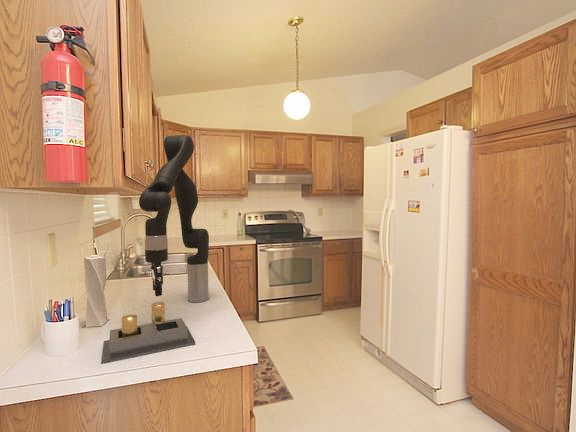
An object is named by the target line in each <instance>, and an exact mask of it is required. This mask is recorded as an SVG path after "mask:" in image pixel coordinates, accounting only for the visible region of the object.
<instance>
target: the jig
mask: <svg viewBox="0 0 576 432" xmlns="http://www.w3.org/2000/svg"><path fill="white" fill-rule="evenodd" d="M193 345H196V341H195V339H194V337H193V335H192V333H191V331H190V329H189V328H188V326H187V325H186V323H185V321H184V319H183V318H182V317H181V318H175V319H167V320H165V321H161V322H155V323H152V322H150V323H145V324H139V325H138V315H137V314H134V313H131V314H126V315H122V317H121V327H120V328H115V329H110V331H109V339H108V340H103V345H102V354H101V365H104V364H107V363H112V362H117V361H118V362H119V361H121V360H127V359H132V358H136V357H141V356H145V355H147V356H148V355H150V354H155V353H160V352H161V353H162V352H165V351H169V350H175V349H179V348H180V349H181V348H184V347H188V346H193ZM103 363H104V364H103Z"/></svg>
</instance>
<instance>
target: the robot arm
mask: <svg viewBox="0 0 576 432" xmlns="http://www.w3.org/2000/svg"><path fill="white" fill-rule="evenodd" d="M163 139H164V141H163V149H164V153H165V156H166V160H167V162H166V163H165V164H163V166H161V168H160V169H158V171H157V173H156V175H155V177H154V180H153V181H152V182H151V183H150V184H149V185H148V186H147V187H146V188H145V189H144V190H143V191H142V193H141V194H140V196H139V200H138V205H139V207H140V209H141V210H142V211H143V212H147V213H148V212H149V213H151V212H153V213H156V212H157V214H156V215H155V217H152V218H148V219H146V220H145V222H144V224H145V227H144V229H145V235H144V237H145V239H144V255H145V256H144V258H145V259H144V261H145V262H146V263H150V264H151V266H150V276H151V280H152V290H153V291H154V296H155V297H161V296H162V295H163V284H164V266H163V264H162V263H163V262H166V261H168V259H169V253H168V251H169V250H168V248H169V247H168V246H169V245H168V244H169V243H168V235H167V232H168V231H167V230H168V229H167V222H168V218H169V214H170V211H171V207H172V197H171V196H170V194H169V193H171V192H172V190H173V188H174V195H175V200H176V204H177V209H178V213H179V214H178V215H179V221H180V226H181V227H180V229H181V236H182V237H181V239H182V243H183V245H184V247H185V248H186V249H195V250H196V249H197V250H196V251H197V252H196V253H195V254H193V255H190V256H188V257H187V259H186V266H187V269H186V270H187V299H188V302H189V303H203V302H205V301H206V302H207V301H209V298H210V297H209V294H210V293H209V292H210V291H209V263H208V261H209V248H210V244H209V243H210V236H209V235H210V234H209V231H208V229H206V228H193V225H192V224H193V223H192V219H193V216H194V214H195V211H196V209H197V206H198V204H199V196H198V190H197V186H196V184H195V183H194V181H193V180H192V179H191V178H190V177H189V175H188V174H187V173H186V171H185V170H184V167H185V166H186V164H187V163H188V162H189V160H190V159H191V157H192V156H193V154H194V151H195V145H194V141H193V138H192V137H191V136H190V135H187V134H180V135H179V134H178V135H167V136H165V138H163Z"/></svg>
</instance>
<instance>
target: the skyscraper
mask: <svg viewBox="0 0 576 432" xmlns="http://www.w3.org/2000/svg"><path fill="white" fill-rule="evenodd" d="M101 253H104V256H101ZM106 254H107V252H106V251H105V250H101V251H100V252H99V253H98V254H92V255H90V256H87V255H86V256H85V255H84V257H83V265H82V266H83V283H84V288H85V292H86V296H87V297H86V311H85V324H83V325H82V327H81V329H85V328H87V329H88V328H102V327H103V326H104V325H106V324H107V323H108V322H109V321H110V319H108V310H107V301H106V296H105V289H106V283H107V259H106V256H107V255H106Z"/></svg>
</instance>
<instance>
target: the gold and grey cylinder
mask: <svg viewBox="0 0 576 432" xmlns="http://www.w3.org/2000/svg"><path fill="white" fill-rule="evenodd" d="M165 304H166V303H165V302H163V301H158V302H153V303H151V323H155V322H161V321H166V308H165V307H166V305H165Z"/></svg>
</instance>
